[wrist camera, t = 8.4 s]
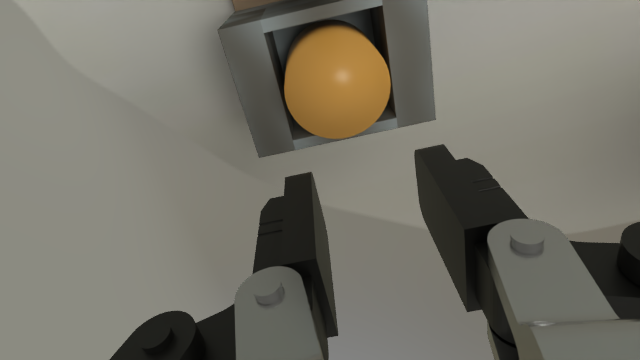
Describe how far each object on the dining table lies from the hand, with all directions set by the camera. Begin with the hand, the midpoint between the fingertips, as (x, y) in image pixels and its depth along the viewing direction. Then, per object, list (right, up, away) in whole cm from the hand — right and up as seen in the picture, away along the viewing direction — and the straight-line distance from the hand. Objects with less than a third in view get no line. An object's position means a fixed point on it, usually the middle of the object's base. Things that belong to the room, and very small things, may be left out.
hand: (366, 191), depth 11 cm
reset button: (-1, +7, +12) cm, 13 cm away
